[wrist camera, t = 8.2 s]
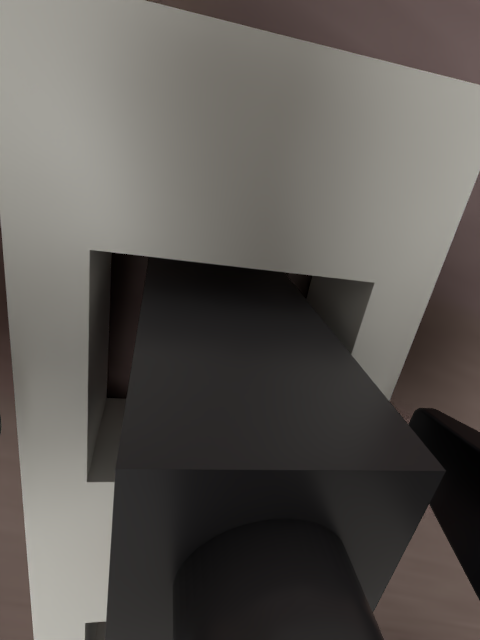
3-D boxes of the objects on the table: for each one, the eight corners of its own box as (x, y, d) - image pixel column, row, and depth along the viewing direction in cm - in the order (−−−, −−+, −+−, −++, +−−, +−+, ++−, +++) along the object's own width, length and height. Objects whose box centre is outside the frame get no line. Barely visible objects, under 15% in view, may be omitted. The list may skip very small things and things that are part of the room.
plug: (257, 379, 14) (423, 842, 5) (139, 372, 13) (72, 924, 4) (282, 270, 12) (601, 661, 3) (149, 254, 11) (73, 732, 2)
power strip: (244, 648, 21) (261, 769, 17) (64, 666, 19) (36, 808, 15) (409, 104, 11) (556, 87, 7) (48, 21, 9) (-58, -76, 5)
